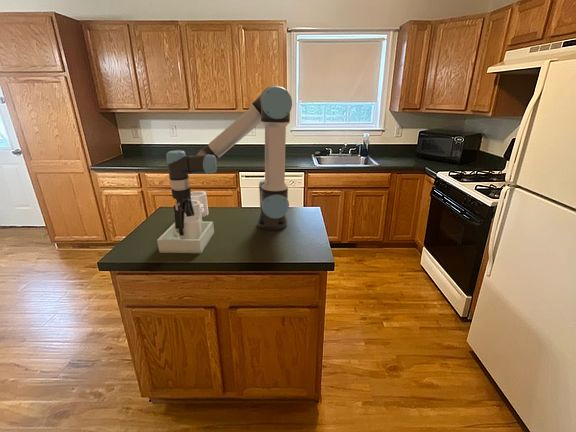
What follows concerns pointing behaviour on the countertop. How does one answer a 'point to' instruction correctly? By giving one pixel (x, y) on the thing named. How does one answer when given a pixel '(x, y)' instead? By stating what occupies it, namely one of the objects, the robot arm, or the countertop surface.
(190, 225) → the cup
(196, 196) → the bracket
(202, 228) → the tub
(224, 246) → the countertop surface
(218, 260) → the countertop surface
